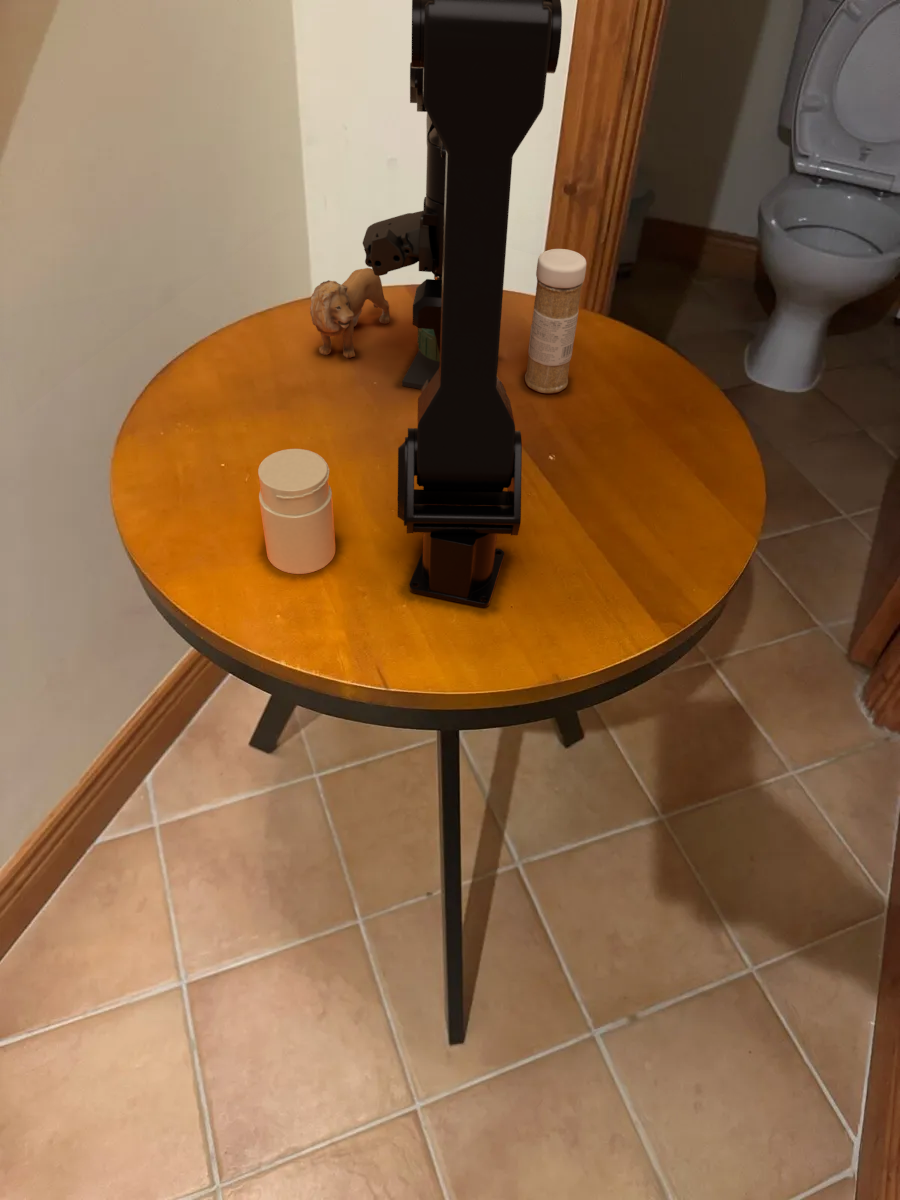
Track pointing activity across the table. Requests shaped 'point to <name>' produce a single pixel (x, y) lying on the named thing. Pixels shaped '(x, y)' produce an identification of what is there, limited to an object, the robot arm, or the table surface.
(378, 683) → the table surface
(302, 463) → the jar
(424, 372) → the coaster
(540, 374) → the spice bottle
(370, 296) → the lion figurine
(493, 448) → the robot arm
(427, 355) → the lid
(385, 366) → the table surface
